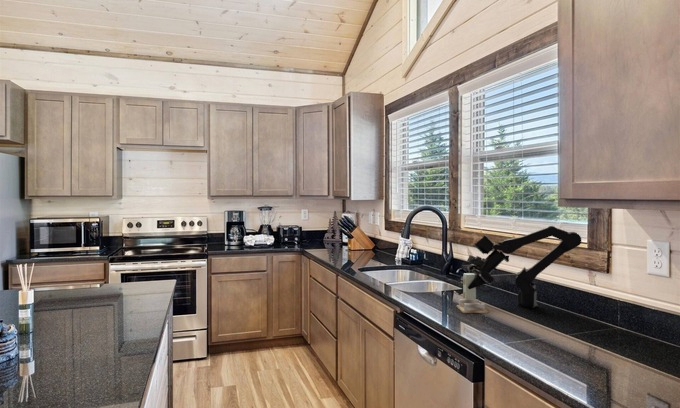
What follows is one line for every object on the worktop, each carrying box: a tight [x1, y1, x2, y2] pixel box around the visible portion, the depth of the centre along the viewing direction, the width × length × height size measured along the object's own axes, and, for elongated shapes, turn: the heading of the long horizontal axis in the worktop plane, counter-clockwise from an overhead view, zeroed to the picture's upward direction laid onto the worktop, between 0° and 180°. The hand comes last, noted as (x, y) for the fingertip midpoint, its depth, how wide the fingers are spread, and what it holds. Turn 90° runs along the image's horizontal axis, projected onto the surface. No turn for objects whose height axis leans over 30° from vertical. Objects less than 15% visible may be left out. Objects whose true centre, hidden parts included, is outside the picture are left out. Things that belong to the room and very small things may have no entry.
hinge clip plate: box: [456, 298, 489, 314], centre depth 177 cm, size 10×9×3 cm
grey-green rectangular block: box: [462, 272, 477, 299], centre depth 190 cm, size 5×4×12 cm
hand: (466, 287), depth 190 cm, fingers open, 5 cm apart
